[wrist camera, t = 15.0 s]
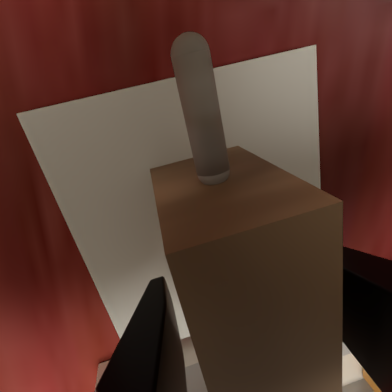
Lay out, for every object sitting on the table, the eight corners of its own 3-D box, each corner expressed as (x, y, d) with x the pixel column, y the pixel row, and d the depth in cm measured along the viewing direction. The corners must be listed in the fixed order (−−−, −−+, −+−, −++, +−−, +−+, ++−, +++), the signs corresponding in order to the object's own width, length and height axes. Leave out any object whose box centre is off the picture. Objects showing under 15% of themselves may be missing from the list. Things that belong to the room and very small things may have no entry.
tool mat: (305, 47, 9) (315, 44, 8) (315, 282, 13) (323, 290, 12) (24, 112, 8) (16, 113, 7) (128, 344, 12) (128, 357, 11)
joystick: (221, 39, 8) (344, -37, 3) (259, 284, 11) (341, 414, 7) (118, 61, 7) (89, 13, 3) (190, 306, 11) (228, 459, 6)
